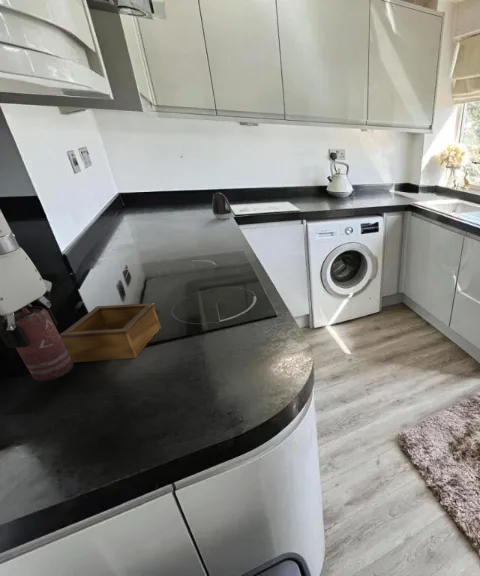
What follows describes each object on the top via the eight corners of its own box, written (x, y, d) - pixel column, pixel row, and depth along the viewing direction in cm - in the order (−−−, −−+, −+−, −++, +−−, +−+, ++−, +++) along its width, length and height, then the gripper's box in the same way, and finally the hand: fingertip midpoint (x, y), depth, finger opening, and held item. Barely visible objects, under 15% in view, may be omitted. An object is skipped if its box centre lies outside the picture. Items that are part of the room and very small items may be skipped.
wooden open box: (72, 362, 74) (58, 335, 71) (107, 331, 86) (97, 306, 82) (136, 358, 76) (125, 331, 72) (162, 327, 87) (154, 303, 84)
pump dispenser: (224, 215, 200) (218, 190, 193) (236, 217, 196) (232, 191, 189) (210, 219, 191) (204, 193, 184) (223, 221, 187) (217, 194, 181)
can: (69, 358, 70) (40, 301, 64) (78, 369, 67) (49, 311, 61) (30, 373, 66) (-5, 313, 60) (38, 386, 62) (2, 324, 56)
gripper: (5, 233, 62) (47, 314, 69) (-103, 267, 46) (-33, 366, 54) (49, 232, 63) (86, 312, 70) (-42, 265, 47) (18, 363, 55)
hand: (34, 335), depth 62 cm, fingers closed on can, 6 cm apart
